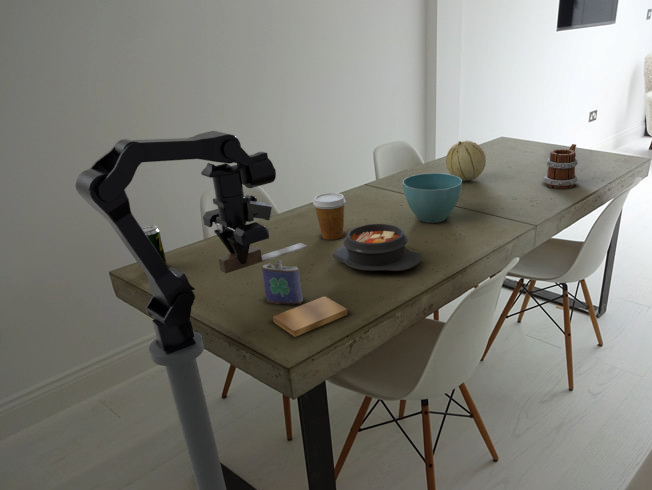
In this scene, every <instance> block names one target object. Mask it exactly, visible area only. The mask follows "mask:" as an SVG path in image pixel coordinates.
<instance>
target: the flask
mask: <svg viewBox="0 0 652 490" xmlns="http://www.w3.org/2000/svg"><path fill="white" fill-rule="evenodd" d="M283 262H284V260H282V259H279V260H275V261H274V263H275V264H273V263H271V262H269V263H267V264H264V265H262V267H261V270H262V277H263V284H264V291H265V292H264V293H265V297H266V302H267V303H271V304H277V305H288V306H289V305H291V306H296V305H302V303H303V301H304V299H303V292H302V284H301V278H300V277H301V276H300V270H299V268H298V266H287V265H285V266H284V265H283Z"/></svg>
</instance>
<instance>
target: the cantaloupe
mask: <svg viewBox="0 0 652 490" xmlns="http://www.w3.org/2000/svg"><path fill="white" fill-rule="evenodd" d="M445 164H446V168H447V170H448V172H449V174H450V175H454V176H457V177H459V178H460V179H461V180H462V182H467V181H471V180H475V179H477V178H479V176H481V174H482V173H483V172H484V169H485V168H486V164H487V159H486V154H485V151H484V149H483V148H482V147H481V146H480V145H479V144H478V143H477V142H475V141H473V140H468V139H467V140H459V141H458V142H456V143H454V144H453V145H452V146H450V148H449V150H448V151H447V153H446V157H445Z"/></svg>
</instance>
